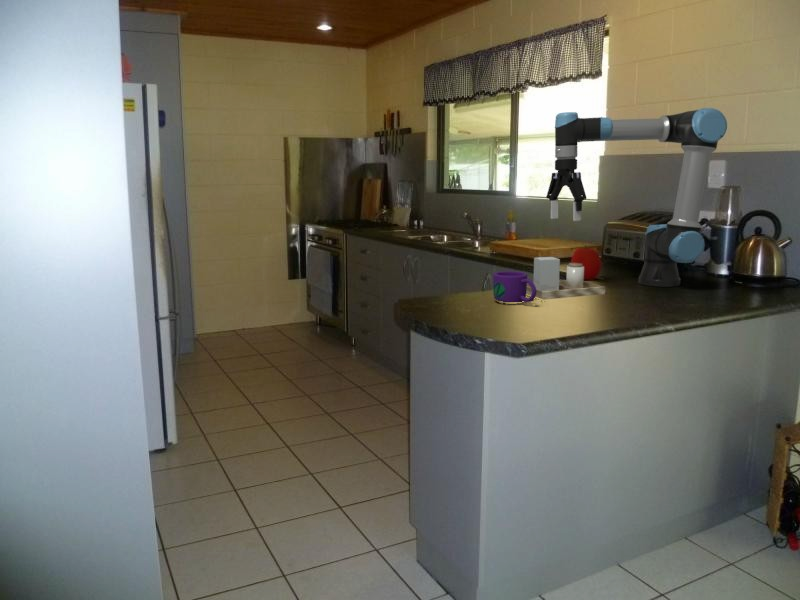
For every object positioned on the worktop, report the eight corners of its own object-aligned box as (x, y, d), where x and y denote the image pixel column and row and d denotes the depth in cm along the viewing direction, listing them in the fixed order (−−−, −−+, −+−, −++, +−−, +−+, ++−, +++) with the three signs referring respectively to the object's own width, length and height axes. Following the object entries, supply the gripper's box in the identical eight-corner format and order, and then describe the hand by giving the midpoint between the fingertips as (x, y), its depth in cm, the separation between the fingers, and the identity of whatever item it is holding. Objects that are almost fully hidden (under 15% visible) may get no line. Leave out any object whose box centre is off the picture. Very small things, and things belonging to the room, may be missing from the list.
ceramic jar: (576, 289, 237) (577, 262, 235) (586, 291, 231) (587, 264, 229) (562, 290, 235) (563, 263, 233) (572, 293, 229) (573, 265, 227)
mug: (485, 301, 221) (486, 273, 219) (509, 297, 228) (509, 269, 226) (523, 310, 207) (524, 279, 205) (547, 305, 214) (548, 275, 212)
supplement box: (559, 294, 226) (560, 259, 224) (538, 295, 226) (539, 259, 223) (552, 291, 233) (553, 256, 231) (532, 291, 233) (533, 257, 230)
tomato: (590, 277, 267) (591, 243, 264) (606, 282, 256) (608, 246, 254) (563, 279, 263) (564, 245, 260) (579, 284, 253) (581, 248, 250)
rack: (575, 288, 244) (575, 279, 243) (604, 296, 227) (605, 287, 227) (516, 293, 235) (517, 283, 235) (543, 302, 219) (543, 292, 218)
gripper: (537, 159, 235) (536, 218, 239) (579, 157, 212) (578, 222, 216) (554, 159, 238) (554, 217, 242) (597, 157, 215) (596, 220, 219)
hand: (565, 219), depth 229 cm, fingers open, 13 cm apart
